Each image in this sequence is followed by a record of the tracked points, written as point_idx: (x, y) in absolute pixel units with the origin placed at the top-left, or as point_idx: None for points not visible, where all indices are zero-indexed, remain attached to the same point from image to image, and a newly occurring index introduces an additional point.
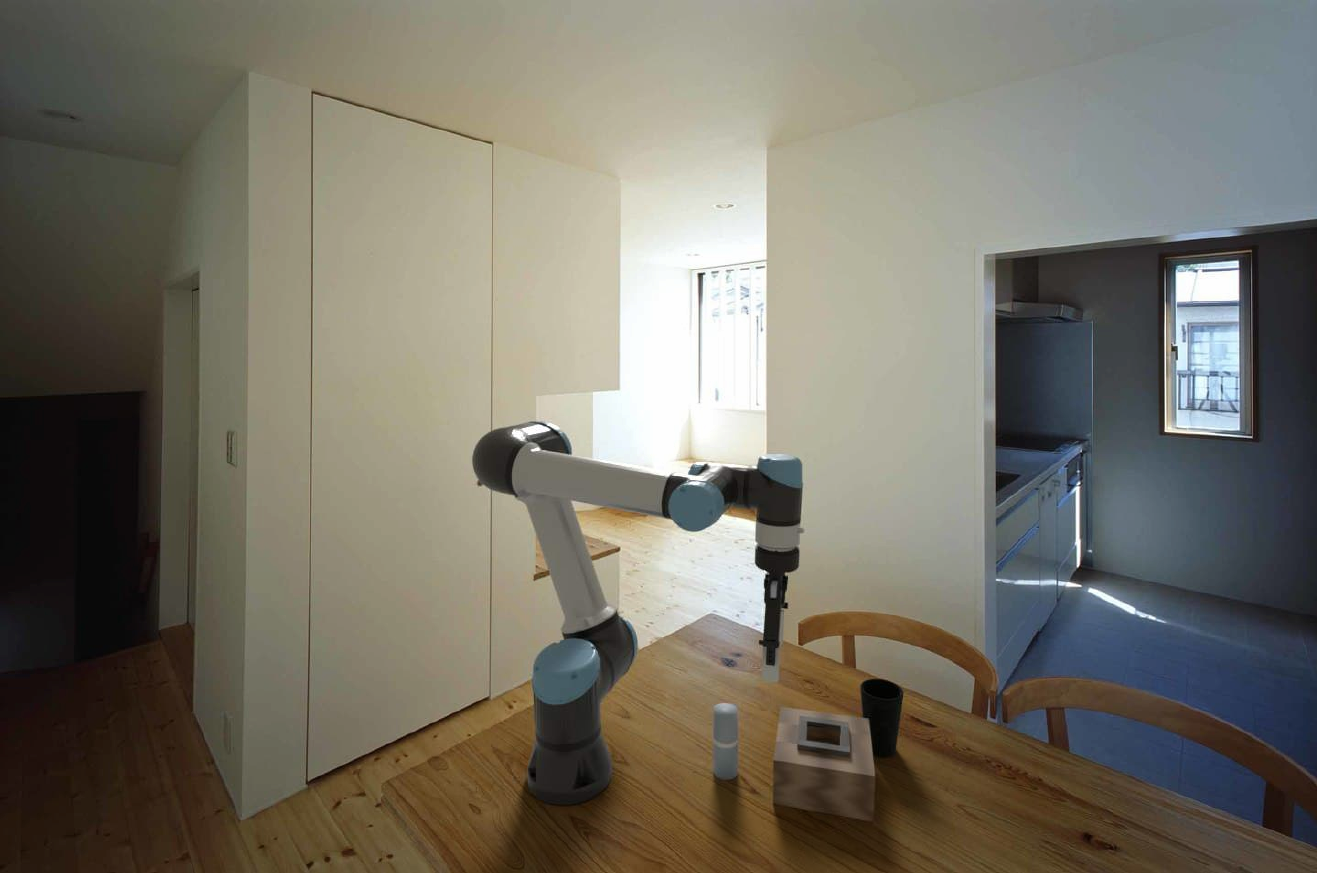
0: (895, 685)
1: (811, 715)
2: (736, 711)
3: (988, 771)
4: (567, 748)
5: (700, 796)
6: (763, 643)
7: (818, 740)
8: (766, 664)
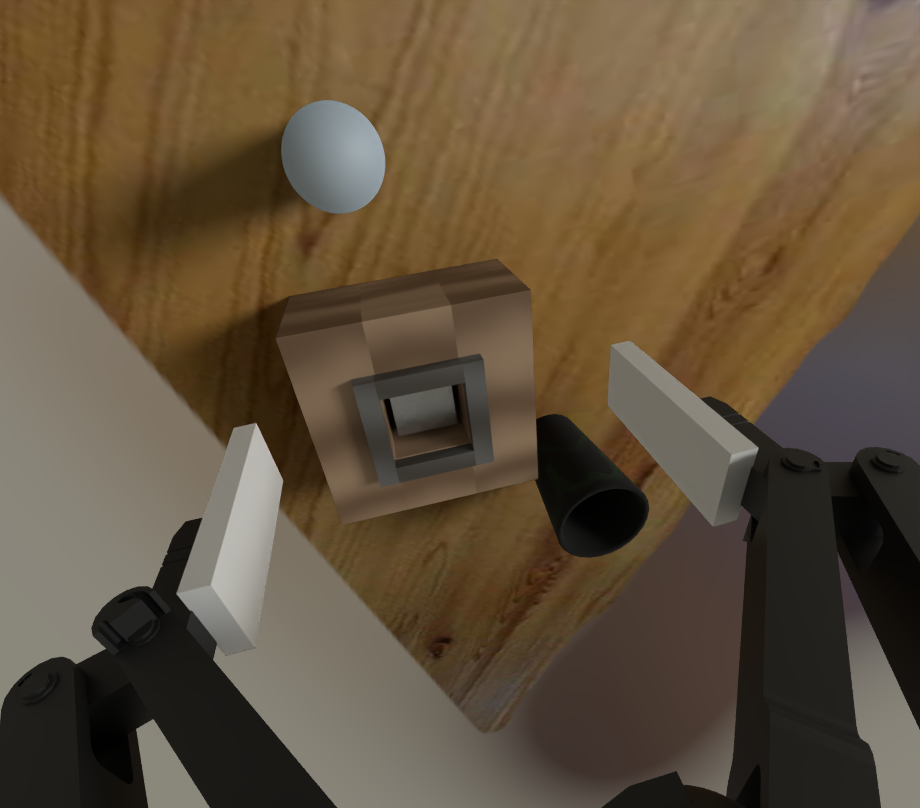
0: (626, 539)
1: (512, 374)
2: (345, 208)
3: (534, 561)
4: None
5: (205, 105)
6: (9, 705)
7: (450, 389)
8: (184, 526)
